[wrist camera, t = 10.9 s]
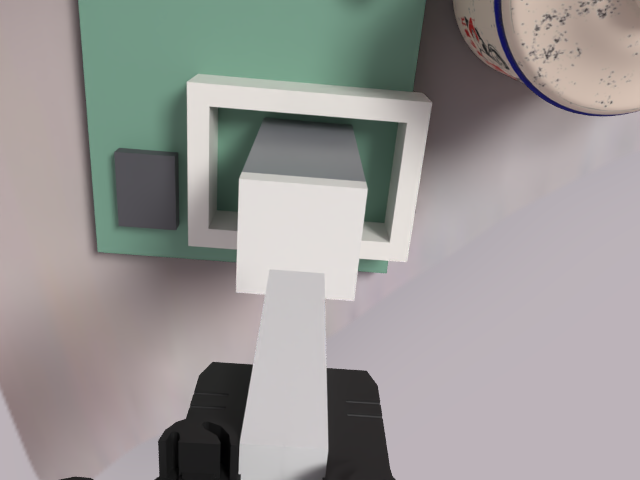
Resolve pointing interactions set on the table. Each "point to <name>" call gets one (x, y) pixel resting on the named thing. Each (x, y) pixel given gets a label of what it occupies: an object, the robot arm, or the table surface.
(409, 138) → the header
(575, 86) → the teacup with lid
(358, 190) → the plug
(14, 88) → the table surface
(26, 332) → the table surface
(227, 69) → the board
